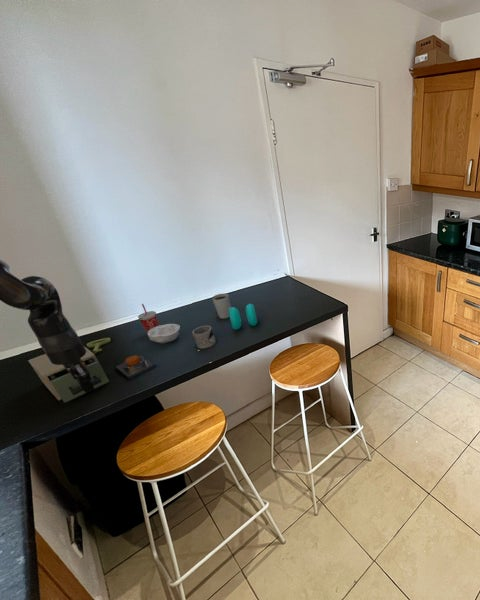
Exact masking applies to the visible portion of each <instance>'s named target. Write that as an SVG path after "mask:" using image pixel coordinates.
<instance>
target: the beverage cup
mask: <svg viewBox="0 0 480 600" xmlns="http://www.w3.org/2000/svg"><path fill="white" fill-rule="evenodd" d="M141 306H142V308H143V310H144V312H142V313H140V314H138V316H137V318H138V320H140V322H141V325H142V326H143V328H144V330H145V332H146V333H147V334H148V331H149V330H151V329H152V328H154V327H157V326H160V324H159V320H158V316H157V313H156V311H154V310H150V311H147V309H146V307H145V305H144V303H141Z"/></svg>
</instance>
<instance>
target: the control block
mask: <svg viewBox="0 0 480 600" xmlns="http://www.w3.org/2000/svg"><path fill="white" fill-rule="evenodd" d="M137 356H138V358H139V360H140V361H139V362H138V363H136V364H134V365H130V366H129V365H127V363H126V361H123V362H122V363H121V364H119V365H117V366H115V369H116V370H117V371H118V372H119V373H121V374H122V375H123V376H124V377H126V378H127V379H128V380H131V379H134V378H136V377H137V376H140V375H142V374H144V373H146V372H148V371H150V370H152V369H154V368H156V365H155V363H153V362H152V361H151V360H149V359H147V358H146V357H145V356H143V355H137Z"/></svg>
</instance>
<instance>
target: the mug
mask: <svg viewBox="0 0 480 600" xmlns="http://www.w3.org/2000/svg"><path fill="white" fill-rule="evenodd" d="M191 333H192V336H193V339H194V341H195V344H196V347H197V348H198V349H201V350H202V349H208V348H211V347H213V346H214V345H215V344H216V343H217V341H216V338H215V334H214V332H213V329H212V326H210V325H205V324H203V325H201V326H198V327H195V328H194V329H193V330H192V332H191Z"/></svg>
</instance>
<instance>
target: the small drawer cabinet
mask: <svg viewBox="0 0 480 600" xmlns="http://www.w3.org/2000/svg"><path fill="white" fill-rule="evenodd" d="M84 347H85V349H86V354H85V355H84V356H83V357H81V360H82V361H85V360H88V359H91V360H92V361H94V362H96V361H98V362H99V360H98V359H97V356H96V355H95V353H93V351H91V350H90V349H89V348H88V347H87V346H84ZM27 361H28V363H29V364H30V366H31V368H32V369H33V370H34V372H35V373H36V375H37V376H38V377H39V379H40V381H41V382H42V384H43V385H44V386H45V387H46V388H47V390H49V392H50V393H51V395H53V397H55V399H56V400H57V401H61V400H62V399H61V397H60V396H59V394H58V393H57V391H56V390H55V388H54V387H53V385H52V383H51V382H50V380H49V378H48V377H47V376H49V375H52V374H54V373H57V372H59V371H61V370H64V369H65V368H64V366H63V365H55V364H52V363H51V361H50V360H49V358H48V357H47V355H46V353H44V354H41V355H39V356H36V357H34V358H31V359H28V360H27Z"/></svg>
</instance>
